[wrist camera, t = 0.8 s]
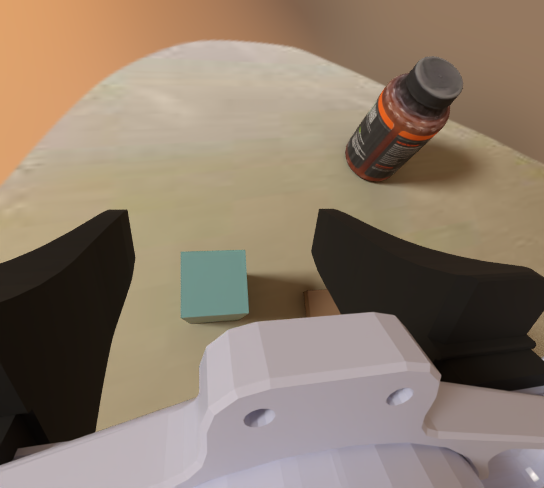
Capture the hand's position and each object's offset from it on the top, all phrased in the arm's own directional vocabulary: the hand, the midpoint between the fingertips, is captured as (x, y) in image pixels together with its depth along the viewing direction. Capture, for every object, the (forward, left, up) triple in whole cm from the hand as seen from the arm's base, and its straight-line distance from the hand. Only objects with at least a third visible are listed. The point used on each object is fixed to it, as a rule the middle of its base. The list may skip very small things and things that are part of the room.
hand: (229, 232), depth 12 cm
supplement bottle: (+13, -17, -16) cm, 27 cm away
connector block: (-1, 0, -16) cm, 16 cm away
